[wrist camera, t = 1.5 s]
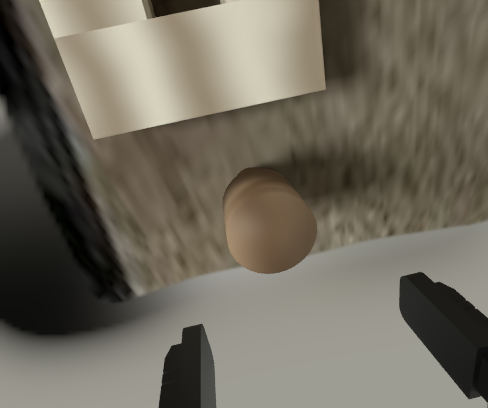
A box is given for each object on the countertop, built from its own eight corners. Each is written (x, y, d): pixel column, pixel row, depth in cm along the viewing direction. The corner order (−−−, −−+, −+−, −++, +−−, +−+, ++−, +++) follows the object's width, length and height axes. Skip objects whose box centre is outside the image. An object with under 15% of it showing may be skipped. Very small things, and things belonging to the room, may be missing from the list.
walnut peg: (276, 146, 26) (312, 184, 18) (285, 204, 28) (320, 262, 20) (213, 160, 26) (218, 205, 17) (227, 217, 28) (237, 282, 20)
